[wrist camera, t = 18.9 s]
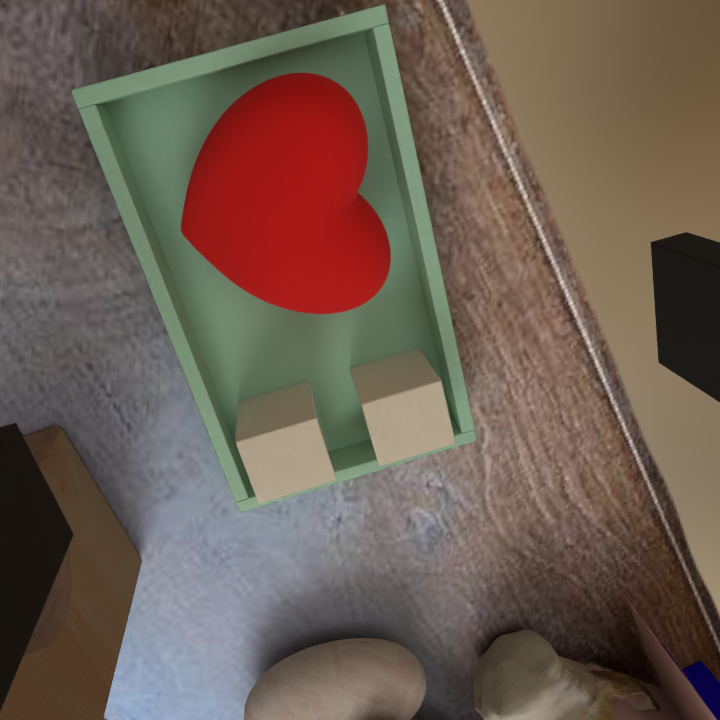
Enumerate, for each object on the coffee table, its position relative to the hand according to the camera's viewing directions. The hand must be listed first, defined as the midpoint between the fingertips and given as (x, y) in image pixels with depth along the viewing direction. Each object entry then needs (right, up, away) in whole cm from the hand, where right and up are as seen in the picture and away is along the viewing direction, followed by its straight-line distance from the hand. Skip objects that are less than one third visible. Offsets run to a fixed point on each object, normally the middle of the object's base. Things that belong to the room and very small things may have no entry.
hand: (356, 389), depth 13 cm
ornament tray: (-3, +5, +24) cm, 24 cm away
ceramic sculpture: (+9, -21, +31) cm, 39 cm away
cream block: (-5, -3, +26) cm, 26 cm away
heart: (-9, +7, +19) cm, 22 cm away
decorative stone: (-2, -22, +35) cm, 41 cm away
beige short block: (+2, -1, +26) cm, 26 cm away
